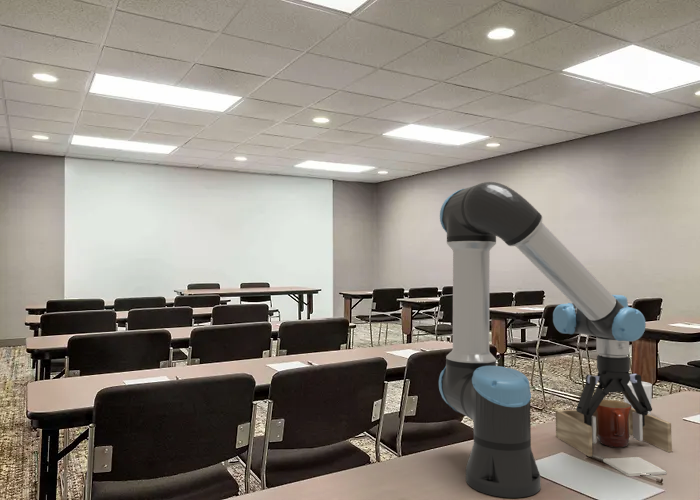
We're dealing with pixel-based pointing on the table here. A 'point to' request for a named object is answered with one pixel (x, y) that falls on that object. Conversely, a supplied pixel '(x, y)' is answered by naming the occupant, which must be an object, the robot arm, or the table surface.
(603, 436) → the mug
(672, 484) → the table surface
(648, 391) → the white cup
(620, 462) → the coaster
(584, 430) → the bay
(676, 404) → the table surface
